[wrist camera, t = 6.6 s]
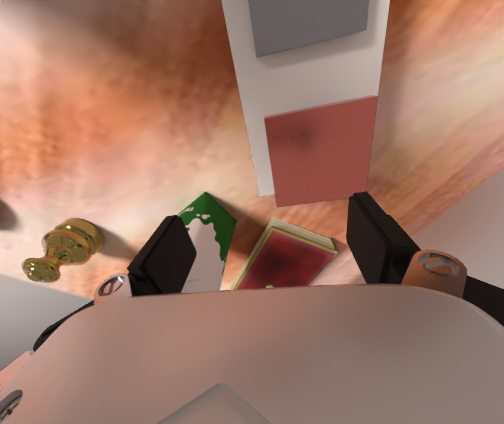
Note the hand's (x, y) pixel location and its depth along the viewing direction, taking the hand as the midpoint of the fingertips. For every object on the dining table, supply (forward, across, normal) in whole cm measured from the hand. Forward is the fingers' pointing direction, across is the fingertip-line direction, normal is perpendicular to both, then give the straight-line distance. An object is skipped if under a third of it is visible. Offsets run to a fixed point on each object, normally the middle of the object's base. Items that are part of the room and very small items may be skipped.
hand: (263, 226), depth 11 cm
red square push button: (+14, -4, -1) cm, 15 cm away
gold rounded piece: (+18, +36, +10) cm, 41 cm away
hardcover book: (+19, +2, +23) cm, 30 cm away
